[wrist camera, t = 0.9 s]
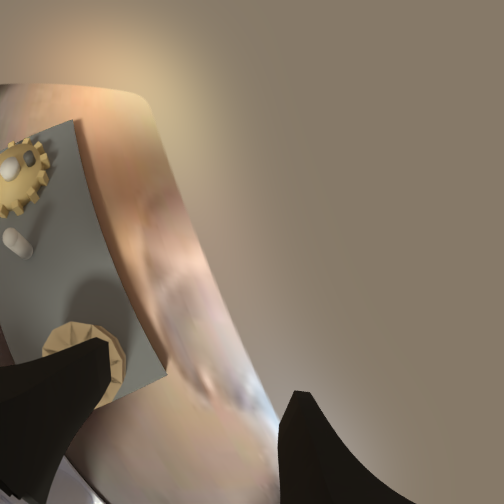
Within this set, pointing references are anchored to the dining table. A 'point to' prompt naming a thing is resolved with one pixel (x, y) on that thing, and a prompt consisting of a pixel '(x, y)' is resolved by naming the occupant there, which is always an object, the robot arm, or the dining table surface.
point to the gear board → (60, 256)
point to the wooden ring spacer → (82, 332)
